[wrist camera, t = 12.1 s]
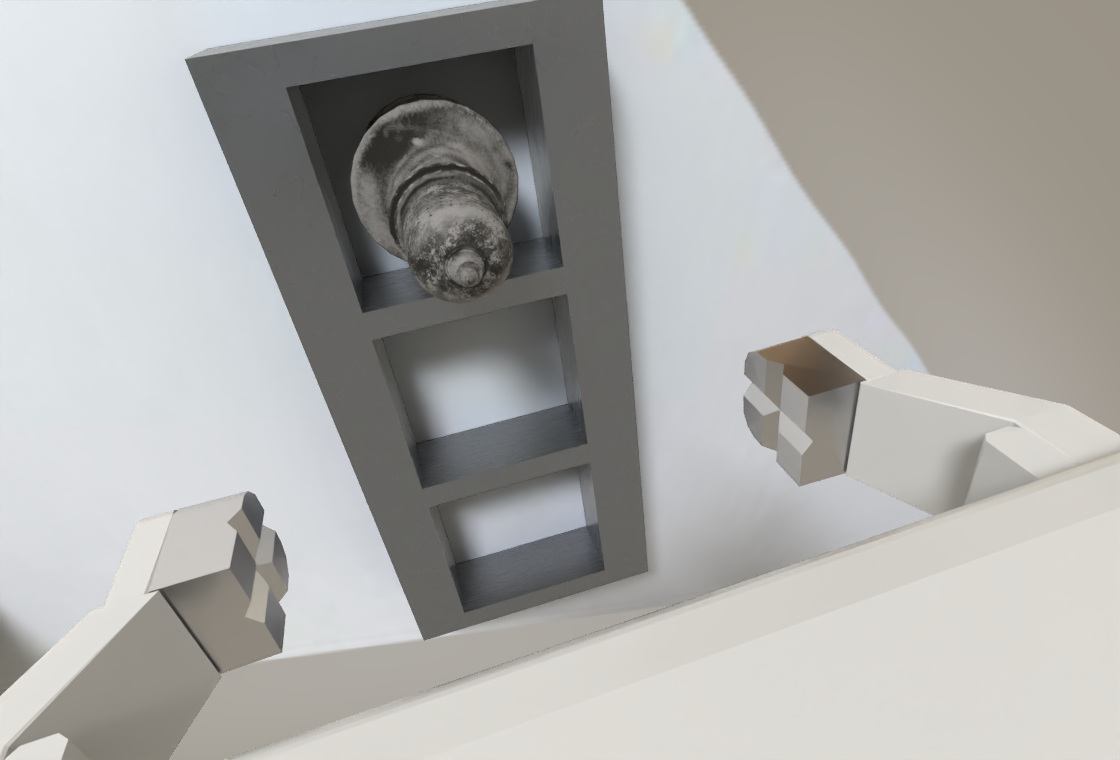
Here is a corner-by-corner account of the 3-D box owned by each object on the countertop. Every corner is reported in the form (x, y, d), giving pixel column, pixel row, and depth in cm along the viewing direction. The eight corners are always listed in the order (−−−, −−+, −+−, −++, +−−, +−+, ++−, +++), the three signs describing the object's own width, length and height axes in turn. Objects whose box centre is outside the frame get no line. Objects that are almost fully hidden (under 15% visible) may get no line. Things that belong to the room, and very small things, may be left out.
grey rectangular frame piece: (419, 590, 38) (423, 640, 35) (207, 48, 22) (184, 59, 19) (627, 528, 40) (647, 571, 37) (572, -13, 24) (601, -11, 21)
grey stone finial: (491, 242, 28) (562, 385, 18) (349, 229, 26) (343, 380, 16) (510, 98, 25) (606, 174, 15) (353, 72, 23) (348, 140, 14)
